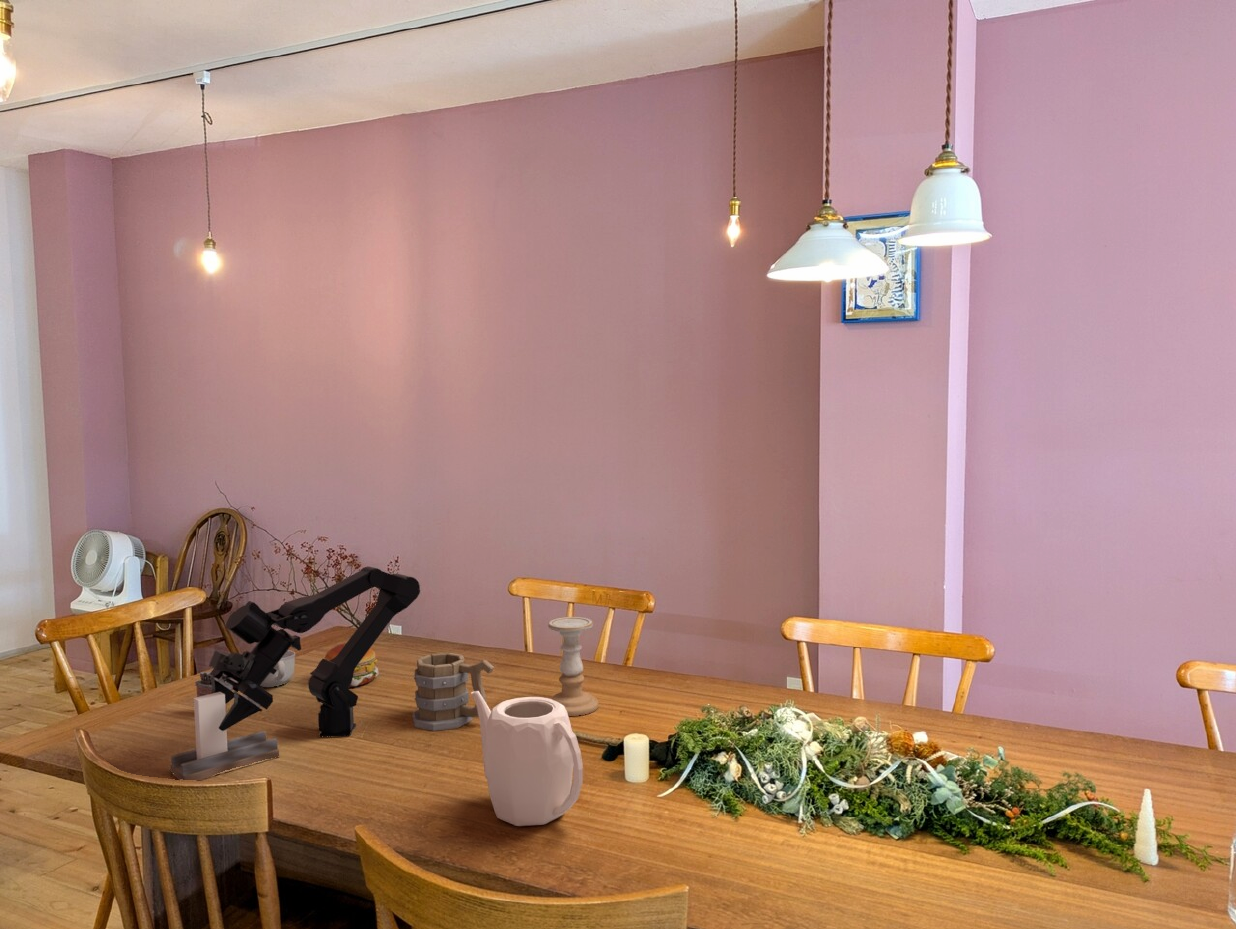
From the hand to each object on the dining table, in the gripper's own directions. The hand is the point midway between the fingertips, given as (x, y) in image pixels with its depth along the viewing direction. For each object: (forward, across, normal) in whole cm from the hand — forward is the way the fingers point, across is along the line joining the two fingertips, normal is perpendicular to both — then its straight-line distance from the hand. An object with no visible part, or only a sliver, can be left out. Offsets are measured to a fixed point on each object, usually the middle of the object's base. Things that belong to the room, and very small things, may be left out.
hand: (211, 723), depth 174 cm
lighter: (-1, -32, +14) cm, 34 cm away
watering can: (-16, +58, +29) cm, 67 cm away
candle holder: (-44, +25, +57) cm, 76 cm away
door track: (+5, 0, +8) cm, 9 cm away
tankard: (-27, +14, +40) cm, 50 cm away
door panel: (+5, 0, +5) cm, 7 cm away
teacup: (-14, -42, +28) cm, 52 cm away
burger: (-25, -30, +38) cm, 55 cm away
